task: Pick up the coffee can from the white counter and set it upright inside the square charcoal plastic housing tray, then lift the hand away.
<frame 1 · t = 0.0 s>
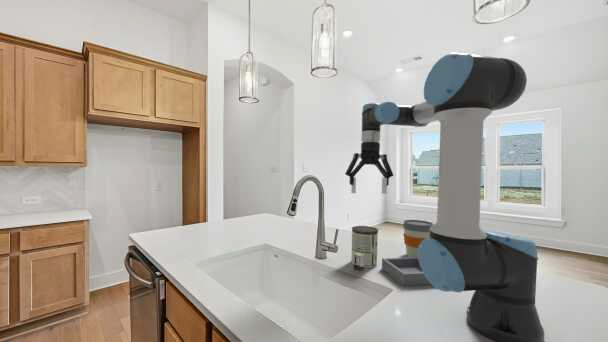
hand: (368, 193, 110), 28 cm above the worktop, tool pointing down, fingers open, 13 cm apart
coffee can: (363, 263, 107), on the worktop
reusable coffee cup: (417, 256, 118), on the worktop
housing tray: (411, 275, 96), on the worktop
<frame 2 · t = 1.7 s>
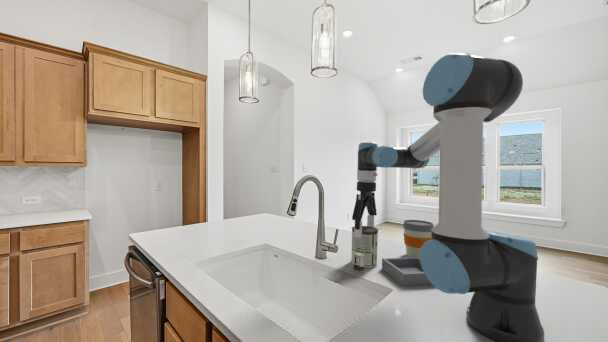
hand: (364, 233, 107), 12 cm above the worktop, tool pointing down, fingers open, 13 cm apart
nothing on the worktop moved.
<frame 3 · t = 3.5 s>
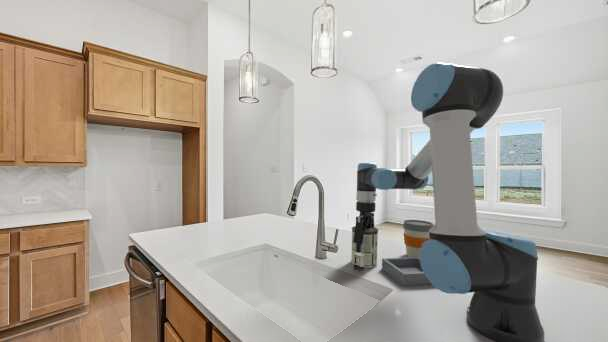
hand: (364, 256, 107), 3 cm above the worktop, tool pointing down, fingers closed on coffee can, 10 cm apart
coffee can: (363, 263, 107), on the worktop, touching gripper
everything else where it was.
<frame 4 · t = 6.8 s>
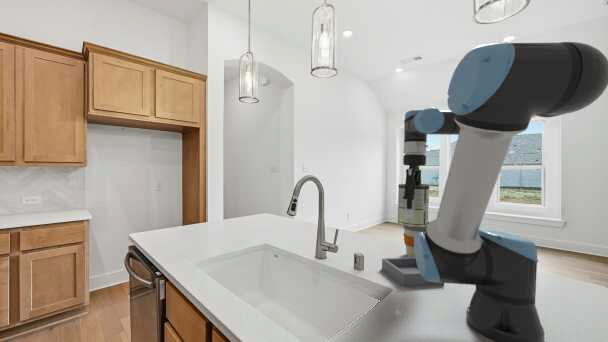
hand: (412, 216, 95), 22 cm above the worktop, tool pointing down, fingers closed on coffee can, 10 cm apart
coffee can: (412, 224, 95), point 19 cm above the worktop, touching gripper
everything else where it was.
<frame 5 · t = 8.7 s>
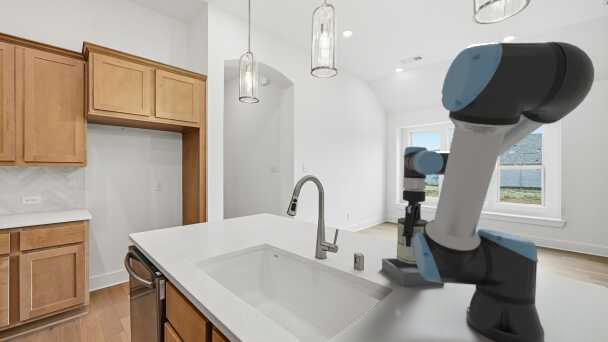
hand: (411, 251, 96), 9 cm above the worktop, tool pointing down, fingers closed on coffee can, 10 cm apart
coffee can: (411, 259, 96), point 6 cm above the worktop, touching gripper
everything else where it was.
when the fingers open (6 cm above the worktop, at t = 10.2 s): coffee can drops 2 cm, resting on housing tray.
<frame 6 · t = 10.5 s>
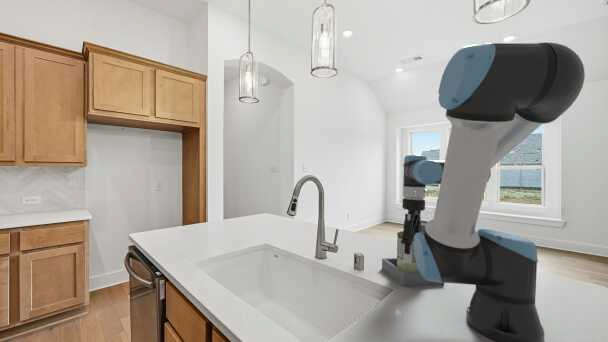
hand: (411, 257, 96), 7 cm above the worktop, tool pointing down, fingers open, 13 cm apart
coffee can: (411, 274, 95), point 1 cm above the worktop, touching housing tray
everything else where it was.
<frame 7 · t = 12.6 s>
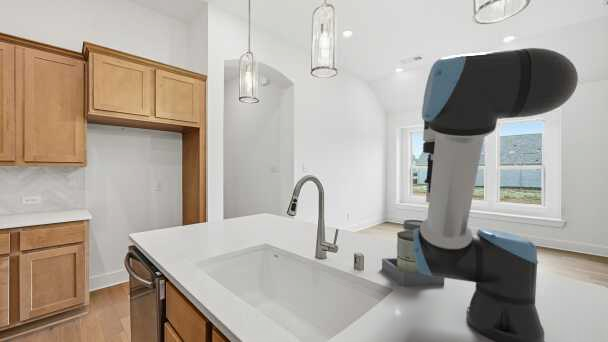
hand: (432, 200, 96), 27 cm above the worktop, tool pointing down, fingers open, 13 cm apart
nothing on the worktop moved.
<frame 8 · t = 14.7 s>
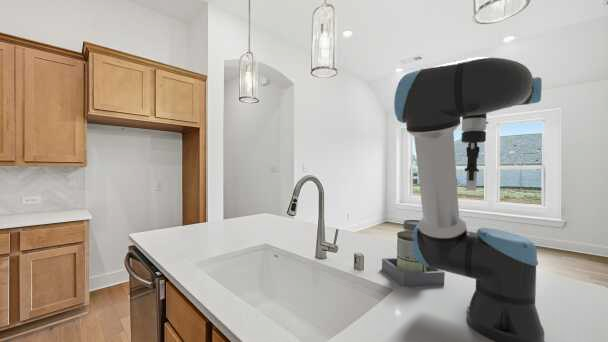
hand: (471, 189, 98), 32 cm above the worktop, tool pointing down, fingers open, 13 cm apart
nothing on the worktop moved.
at the end: coffee can 0.4 cm off-centre on the housing tray, point 0.8 cm above the housing tray's base; coffee can tilted 0°; the gripper is holding nothing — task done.
